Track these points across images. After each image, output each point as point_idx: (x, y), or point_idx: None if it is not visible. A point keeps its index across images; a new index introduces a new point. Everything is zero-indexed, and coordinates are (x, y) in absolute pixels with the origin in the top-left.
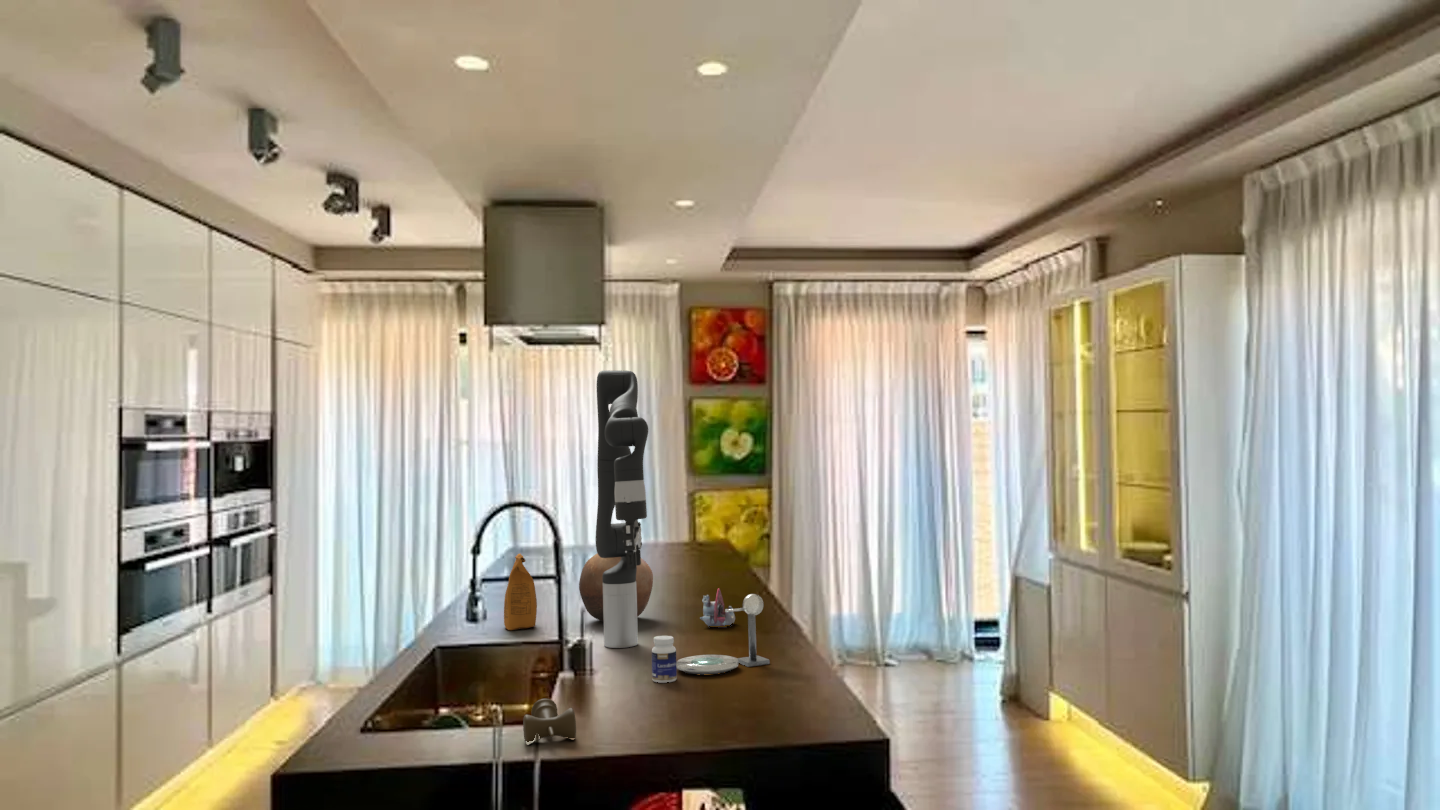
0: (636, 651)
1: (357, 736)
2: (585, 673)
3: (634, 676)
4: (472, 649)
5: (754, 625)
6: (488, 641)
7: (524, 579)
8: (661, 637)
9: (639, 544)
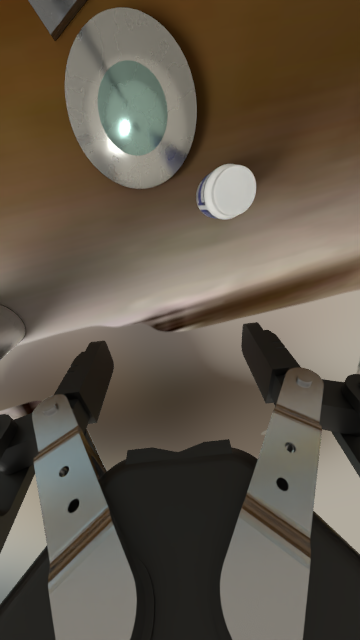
0: (30, 292)
1: None
2: (173, 319)
3: (187, 252)
4: None
5: None
6: None
7: None
8: (234, 197)
9: (77, 422)
